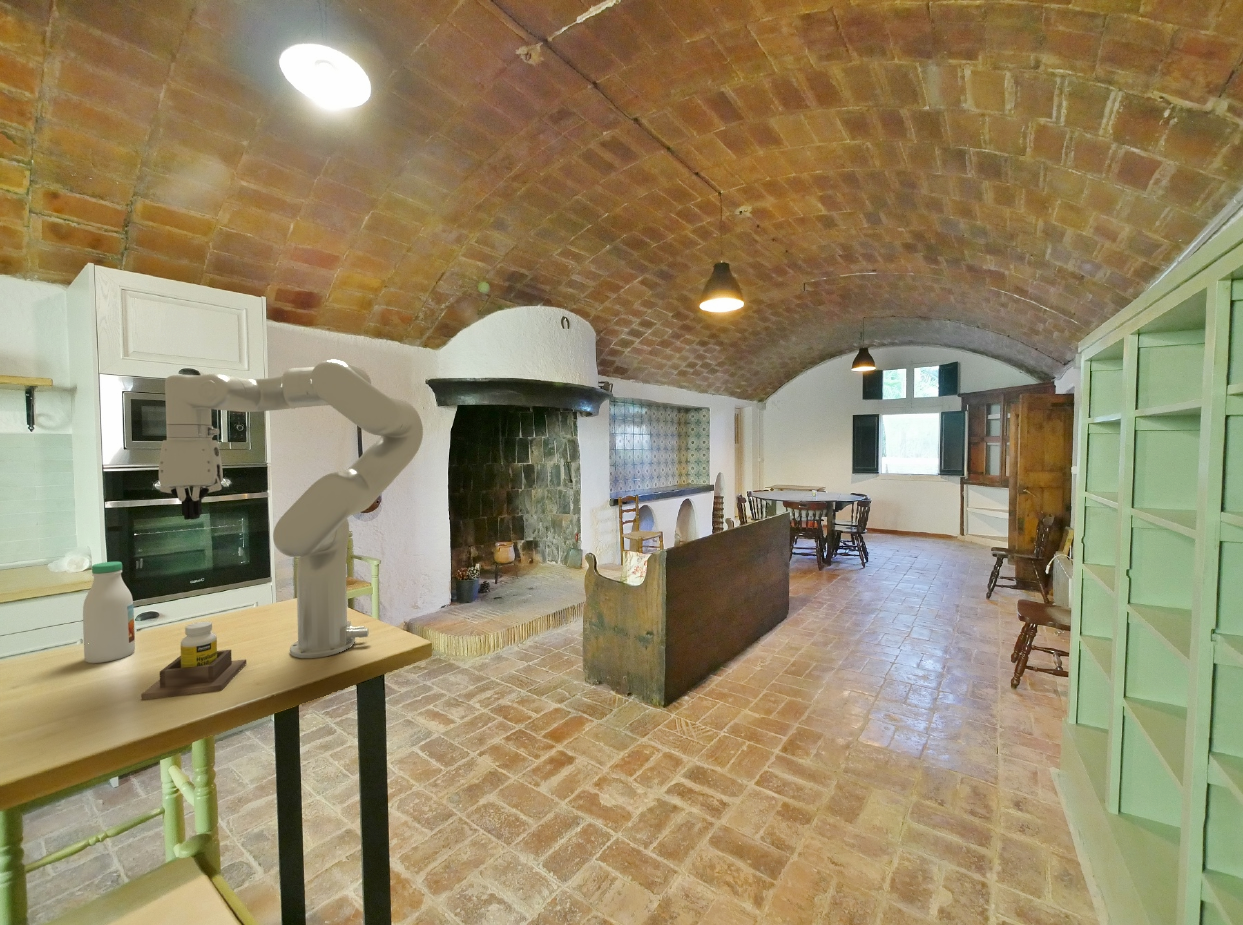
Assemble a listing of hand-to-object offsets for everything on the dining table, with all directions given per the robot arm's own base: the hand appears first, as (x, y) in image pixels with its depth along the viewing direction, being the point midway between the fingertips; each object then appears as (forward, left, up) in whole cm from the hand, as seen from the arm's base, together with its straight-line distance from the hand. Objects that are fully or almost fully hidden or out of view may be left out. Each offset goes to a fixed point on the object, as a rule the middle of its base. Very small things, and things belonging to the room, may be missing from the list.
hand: (192, 518), depth 113 cm
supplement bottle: (-7, +17, -28) cm, 34 cm away
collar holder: (-7, +17, -29) cm, 34 cm away
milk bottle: (+16, -2, -29) cm, 33 cm away
